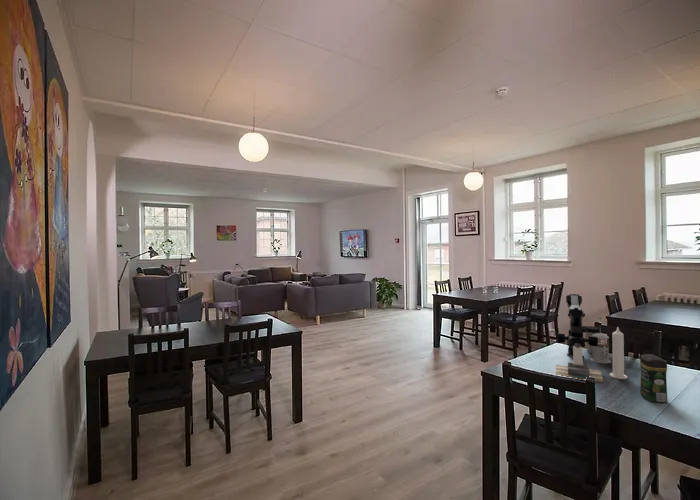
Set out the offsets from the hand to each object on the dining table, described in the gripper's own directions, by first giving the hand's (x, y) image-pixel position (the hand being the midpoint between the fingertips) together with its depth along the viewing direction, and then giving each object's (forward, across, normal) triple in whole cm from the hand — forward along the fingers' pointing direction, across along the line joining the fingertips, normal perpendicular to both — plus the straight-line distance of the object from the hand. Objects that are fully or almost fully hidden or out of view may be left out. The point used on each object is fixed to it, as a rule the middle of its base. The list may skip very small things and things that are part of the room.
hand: (577, 353), depth 190 cm
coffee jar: (+24, +27, -10) cm, 37 cm away
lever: (+7, 0, 0) cm, 7 cm away
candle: (+7, +17, +7) cm, 20 cm away
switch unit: (+10, 0, +3) cm, 11 cm away
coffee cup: (-22, +9, +35) cm, 43 cm away
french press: (-12, +12, +25) cm, 30 cm away
